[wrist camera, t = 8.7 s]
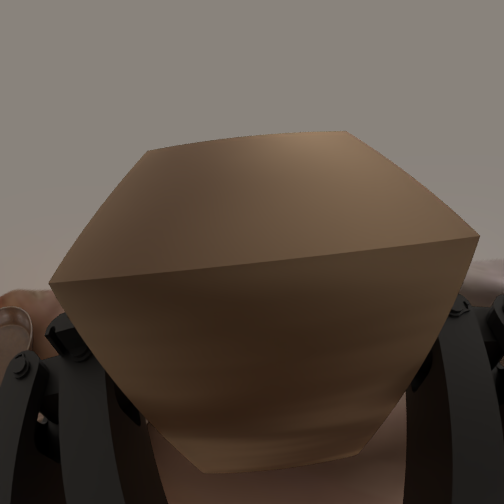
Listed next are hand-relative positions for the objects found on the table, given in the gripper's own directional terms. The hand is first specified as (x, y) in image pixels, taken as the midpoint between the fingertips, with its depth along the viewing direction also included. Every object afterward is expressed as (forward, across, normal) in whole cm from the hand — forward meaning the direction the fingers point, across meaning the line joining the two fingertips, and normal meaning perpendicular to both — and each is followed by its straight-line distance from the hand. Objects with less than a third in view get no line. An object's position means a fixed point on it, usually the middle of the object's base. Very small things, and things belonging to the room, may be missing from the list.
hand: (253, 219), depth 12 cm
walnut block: (-5, 0, -6) cm, 8 cm away
